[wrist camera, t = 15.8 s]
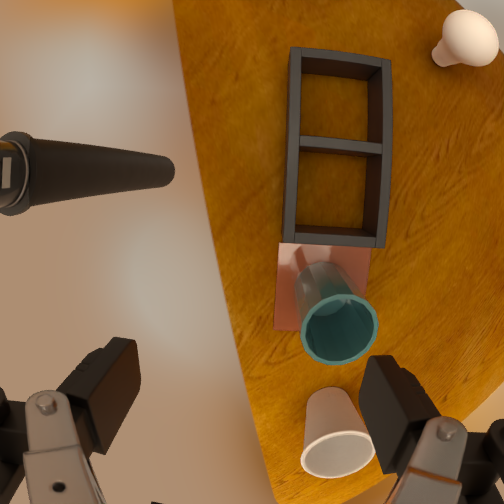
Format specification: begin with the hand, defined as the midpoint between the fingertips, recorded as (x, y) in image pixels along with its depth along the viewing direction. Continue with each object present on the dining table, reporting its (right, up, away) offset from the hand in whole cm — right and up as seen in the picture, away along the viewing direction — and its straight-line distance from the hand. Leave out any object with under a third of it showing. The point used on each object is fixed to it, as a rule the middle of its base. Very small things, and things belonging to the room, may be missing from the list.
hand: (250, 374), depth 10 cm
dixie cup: (+10, -16, +28) cm, 34 cm away
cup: (+8, 0, +24) cm, 25 cm away
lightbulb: (+22, +27, +18) cm, 39 cm away
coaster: (+8, 0, +25) cm, 26 cm away
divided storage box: (+8, +15, +21) cm, 27 cm away
